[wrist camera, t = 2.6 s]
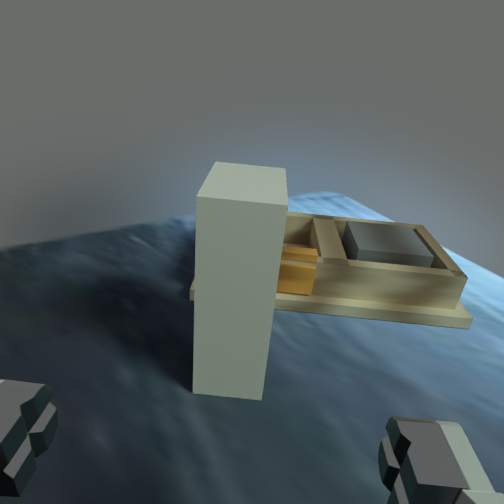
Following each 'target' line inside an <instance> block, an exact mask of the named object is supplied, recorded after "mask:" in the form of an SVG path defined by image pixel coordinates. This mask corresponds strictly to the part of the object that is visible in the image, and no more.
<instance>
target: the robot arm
mask: <svg viewBox="0 0 504 504" xmlns="http://www.w3.org/2000/svg"><path fill="white" fill-rule="evenodd" d="M53 396H54V395H53V392H52V388H51V386H50V385H45V384H37V383H29V382H21V381H12V380H3V379H0V496H9V497H20V496H21V494H22V492H23V490H24V489H25V487H26V485H27V484H28V482H29V480H30V479H31V477H32V475H33V473H34V472H35V470H36V460H35V458H37V457H38V456H39V455H41V454H42V453H44V452H45V451H46V450H47V449H48V448H49V446H50V444H51V442H52V440H53V439H54V436H55V432H56V429H57V426H58V413H57V409H56V408H55V407H54V406H53V405H52V404H51V403H50V400H51V399H52V397H53ZM386 429H387V433H388V436H386V437H385V438H383V439H382V440H381V443H380V447H379V454H378V464H379V471H380V476H381V480H382V483H383V484H384V485H385V486H386V487H387V489H388V490H389V491H390V492H391V494H390V497H389V499H388V502H387V504H504V494H503V493H497V492H495V491H494V489H493V487H492V485H491V483H490V481H489V479H488V477H487V475H486V473H485V472H484V470H483V468H482V466H481V464H480V462H479V460H478V458H477V456H476V454H475V452H474V450H473V448H472V446H471V445H470V443H469V441H468V439H467V437H466V435H465V433H464V431H463V429H462V427H461V426H460V425H459V424H458V423H457V422H446V421H433V420H427V419H415V418H403V417H391V418H390V419H389V420H388V423H387V425H386Z"/></svg>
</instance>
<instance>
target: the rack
mask: <svg viewBox="0 0 504 504" xmlns="http://www.w3.org/2000/svg"><path fill="white" fill-rule="evenodd" d="M467 279H468V277H467V276H466V275H465V274H464V273H463V271H462V270H461V269H460V268H459V267H458V266H457V264H456V263H455V262H454V261H453V260H452V259H451V258H450V256H449V255H448V254H447V253H446V252H445V251H444V249H443V248H442V247H441V246H440V245H439V244H438V242H436V240H435V239H434V238H433V237H432V235H431V234H430V233H429V232H428V231H427V230H426V229H425V227H424V226H423V225H414V224H405V223H395V222H385V221H375V220H365V219H355V218H345V217H335V216H325V215H315V214H306V213H296V212H287V218H286V225H285V232H284V240H283V247H282V254H281V262H280V269H279V276H278V283H277V291H276V298H275V305H274V309H279V310H289V311H298V312H308V313H318V314H327V315H337V316H347V317H356V318H366V319H376V320H385V321H395V322H405V323H414V324H424V325H434V326H443V327H453V328H463V329H469V327H470V325H471V323H472V320H473V318H472V317H471V315H470V314H469V313H468V311H467V310H466V309H465V307H464V306H463V305H462V303H461V302H460V301H459V298H460V296H461V293H462V291H463V288H464V286H465V284H466V281H467ZM194 295H195V277H194V279H193V282H192V285H191V288H190V300H192V301H194Z"/></svg>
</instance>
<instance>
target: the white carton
mask: <svg viewBox="0 0 504 504" xmlns="http://www.w3.org/2000/svg"><path fill="white" fill-rule="evenodd" d="M287 211H288V197H287V185H286V172H285V169H284V168H274V167H264V166H254V165H244V164H233V163H223V162H215V164H214V166H213V167H212V169H211V171H210V173H209V175H208V176H207V178H206V180H205V182H204V183H203V185H202V187H201V189H200V190H199V192H198V194H197V196H196V240H195V295H194V350H193V393H196V394H205V395H215V396H224V397H234V398H243V399H253V400H262V393H263V385H264V378H265V371H266V364H267V356H268V349H269V342H270V334H271V327H272V320H273V313H274V305H275V298H276V291H277V283H278V276H279V269H280V262H281V254H282V247H283V240H284V232H285V225H286V218H287Z"/></svg>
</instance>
